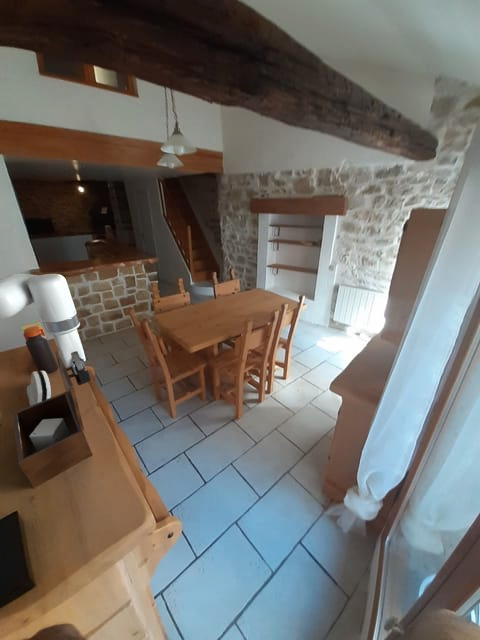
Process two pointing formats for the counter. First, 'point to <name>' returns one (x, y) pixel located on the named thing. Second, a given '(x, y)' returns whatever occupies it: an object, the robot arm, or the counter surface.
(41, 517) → the counter surface
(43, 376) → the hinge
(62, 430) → the product box
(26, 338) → the baking soda box
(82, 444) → the chest
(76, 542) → the counter surface
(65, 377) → the lid
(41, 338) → the bottle
